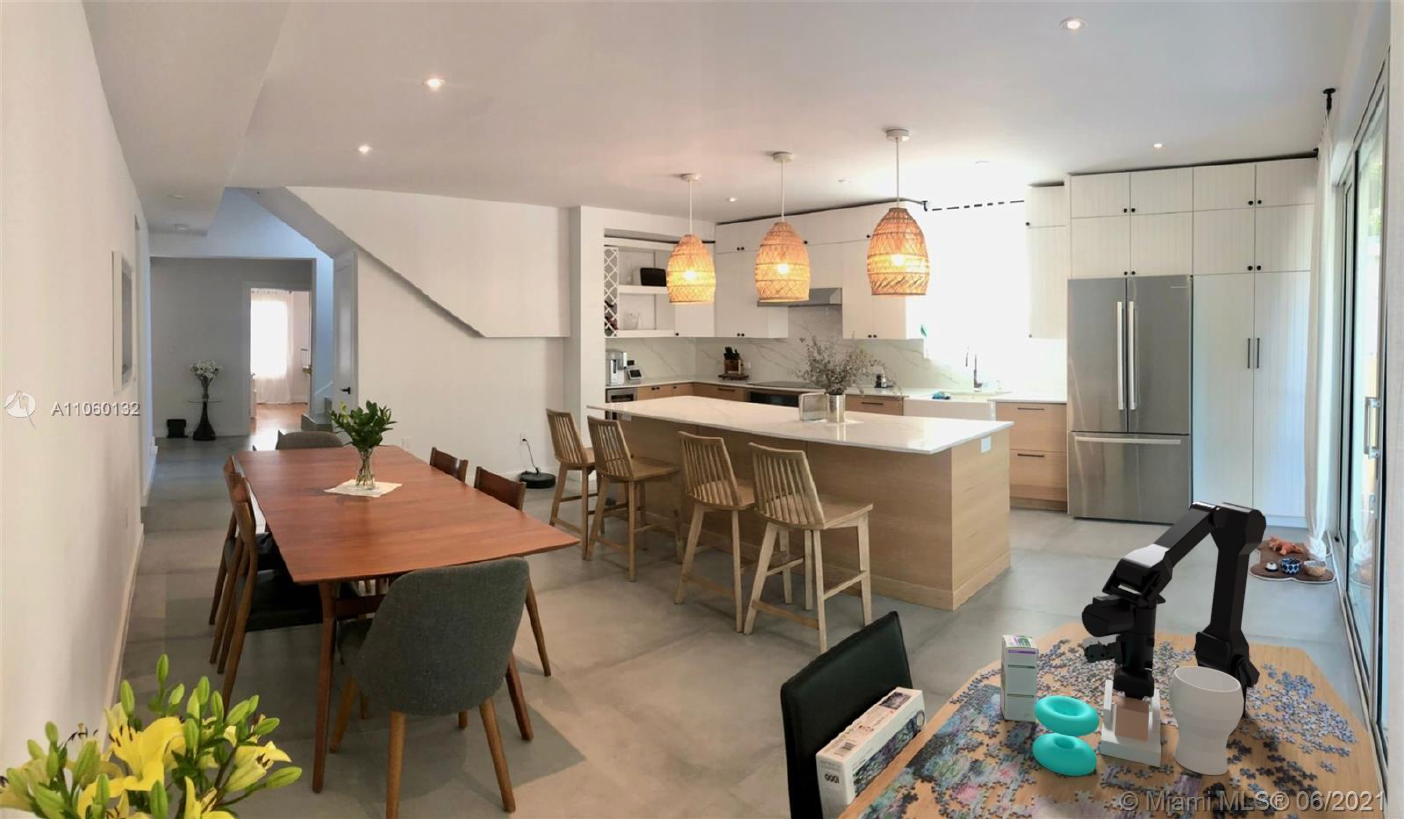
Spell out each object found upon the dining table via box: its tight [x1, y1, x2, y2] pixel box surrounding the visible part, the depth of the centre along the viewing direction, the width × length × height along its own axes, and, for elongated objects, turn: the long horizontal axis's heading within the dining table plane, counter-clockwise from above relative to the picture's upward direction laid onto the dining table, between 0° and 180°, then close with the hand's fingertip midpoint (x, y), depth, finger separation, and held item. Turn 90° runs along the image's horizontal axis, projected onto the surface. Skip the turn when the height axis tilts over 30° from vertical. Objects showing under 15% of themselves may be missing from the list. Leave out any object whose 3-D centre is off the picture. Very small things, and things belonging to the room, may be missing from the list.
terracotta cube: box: [1115, 695, 1150, 741], centre depth 142 cm, size 5×5×5 cm
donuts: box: [1031, 695, 1100, 777], centre depth 137 cm, size 10×10×10 cm
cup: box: [1168, 665, 1244, 776], centre depth 137 cm, size 11×11×15 cm
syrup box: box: [999, 634, 1039, 723], centre depth 153 cm, size 6×6×14 cm
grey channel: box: [1099, 678, 1162, 768], centre depth 147 cm, size 9×20×5 cm, turn 152°
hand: (1130, 711), depth 147 cm, fingers closed
